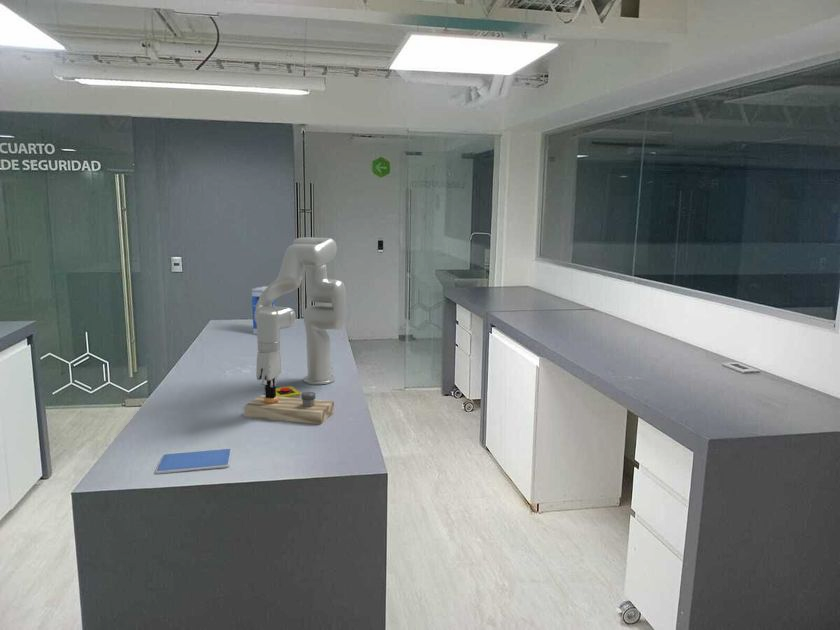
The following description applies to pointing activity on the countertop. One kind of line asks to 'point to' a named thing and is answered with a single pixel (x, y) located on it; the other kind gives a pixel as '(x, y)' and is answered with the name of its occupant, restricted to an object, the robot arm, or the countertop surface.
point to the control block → (290, 410)
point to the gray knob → (308, 399)
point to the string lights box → (255, 298)
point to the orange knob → (271, 400)
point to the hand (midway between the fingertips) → (270, 397)
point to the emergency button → (288, 392)
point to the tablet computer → (194, 461)
